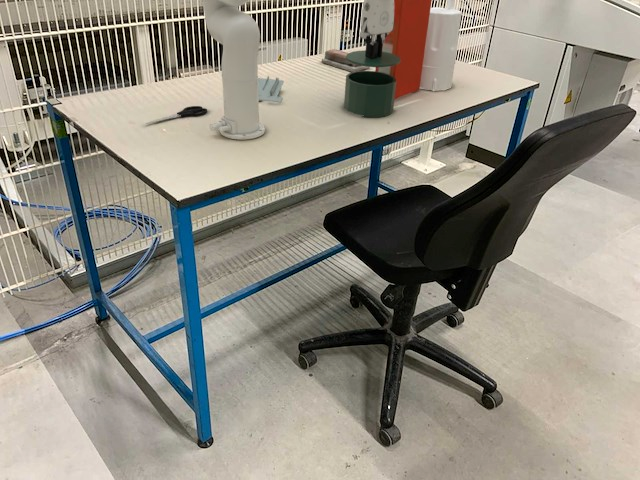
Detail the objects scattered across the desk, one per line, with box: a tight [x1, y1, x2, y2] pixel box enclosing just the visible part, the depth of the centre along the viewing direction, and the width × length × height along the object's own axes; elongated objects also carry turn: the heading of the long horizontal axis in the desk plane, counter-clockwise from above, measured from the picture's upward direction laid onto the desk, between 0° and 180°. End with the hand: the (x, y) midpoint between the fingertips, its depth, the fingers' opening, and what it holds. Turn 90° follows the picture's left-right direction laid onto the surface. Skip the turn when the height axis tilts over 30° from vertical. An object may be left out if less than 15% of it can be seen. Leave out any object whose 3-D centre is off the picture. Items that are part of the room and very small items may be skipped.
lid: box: [346, 41, 401, 68], centre depth 157 cm, size 17×17×6 cm
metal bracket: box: [258, 75, 285, 103], centre depth 173 cm, size 14×6×15 cm
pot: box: [343, 70, 397, 119], centre depth 164 cm, size 16×16×10 cm
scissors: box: [145, 105, 208, 125], centre depth 153 cm, size 7×1×20 cm
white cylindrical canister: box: [419, 0, 462, 92], centre depth 183 cm, size 15×15×33 cm
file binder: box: [374, 0, 433, 100], centre depth 173 cm, size 8×17×32 cm, turn 139°
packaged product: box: [321, 48, 371, 73], centre depth 207 cm, size 18×5×10 cm
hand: (373, 56), depth 158 cm, fingers closed on lid, 2 cm apart
